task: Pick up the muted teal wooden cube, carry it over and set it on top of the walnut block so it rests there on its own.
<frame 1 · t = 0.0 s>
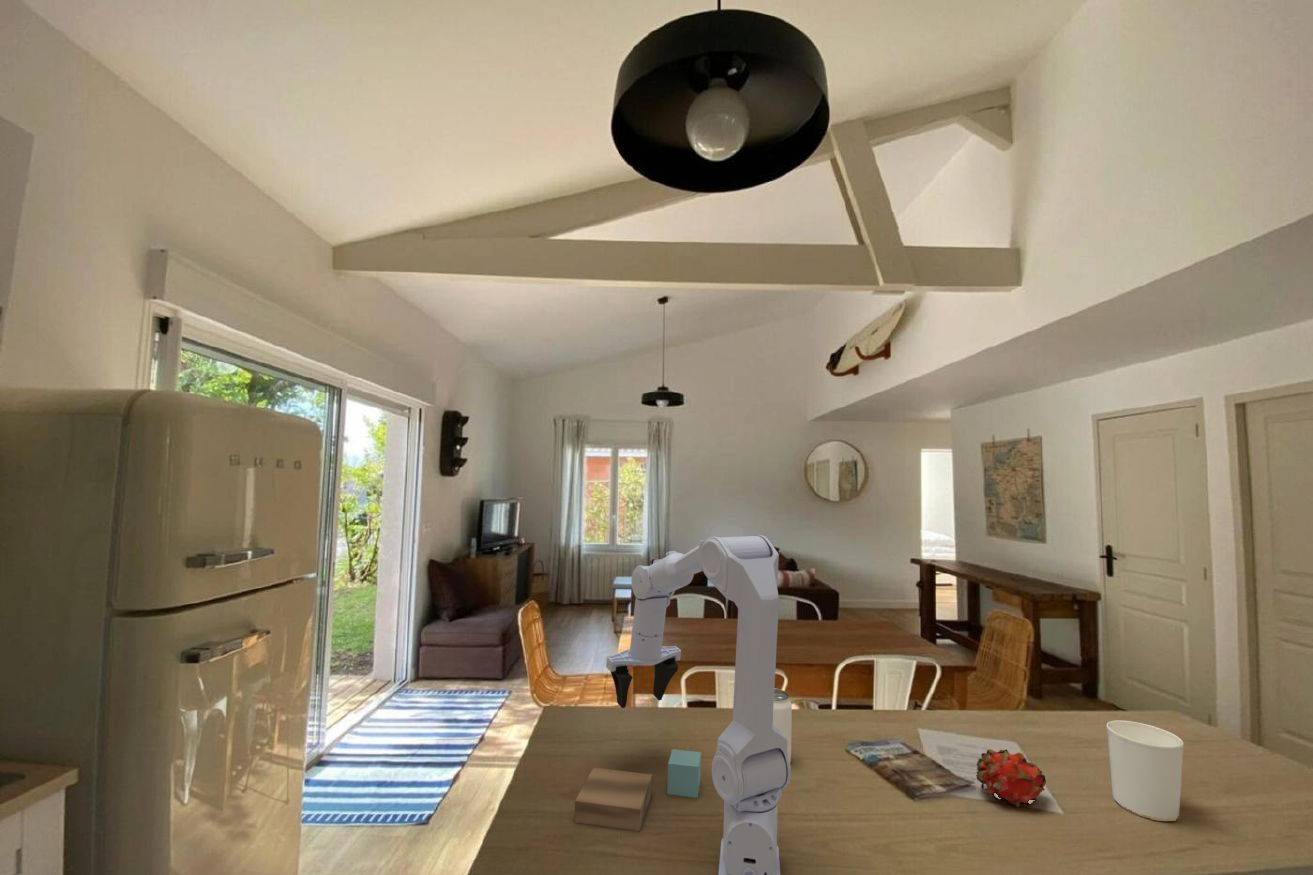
hand: (639, 701, 107), 11 cm above the kitchen island, tool pointing down, fingers open, 7 cm apart
candle holder: (1144, 808, 95), on the kitchen island
walnut block: (614, 810, 91), on the kitchen island
can: (772, 761, 108), on the kitchen island
teal cube: (684, 788, 97), on the kitchen island
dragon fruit: (1011, 799, 97), on the kitchen island
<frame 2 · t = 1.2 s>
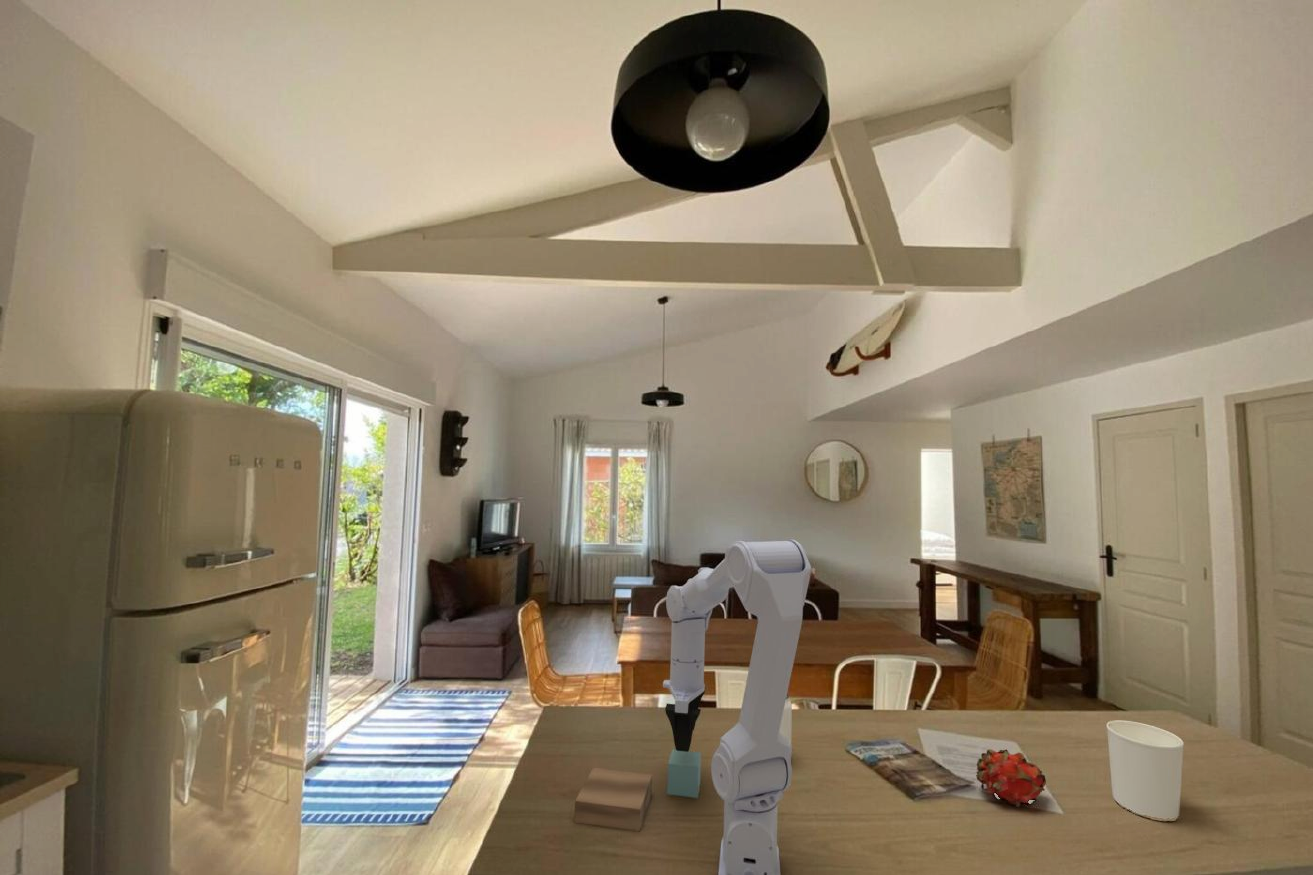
hand: (685, 739, 98), 8 cm above the kitchen island, tool pointing down, fingers open, 7 cm apart
nothing on the kitchen island moved.
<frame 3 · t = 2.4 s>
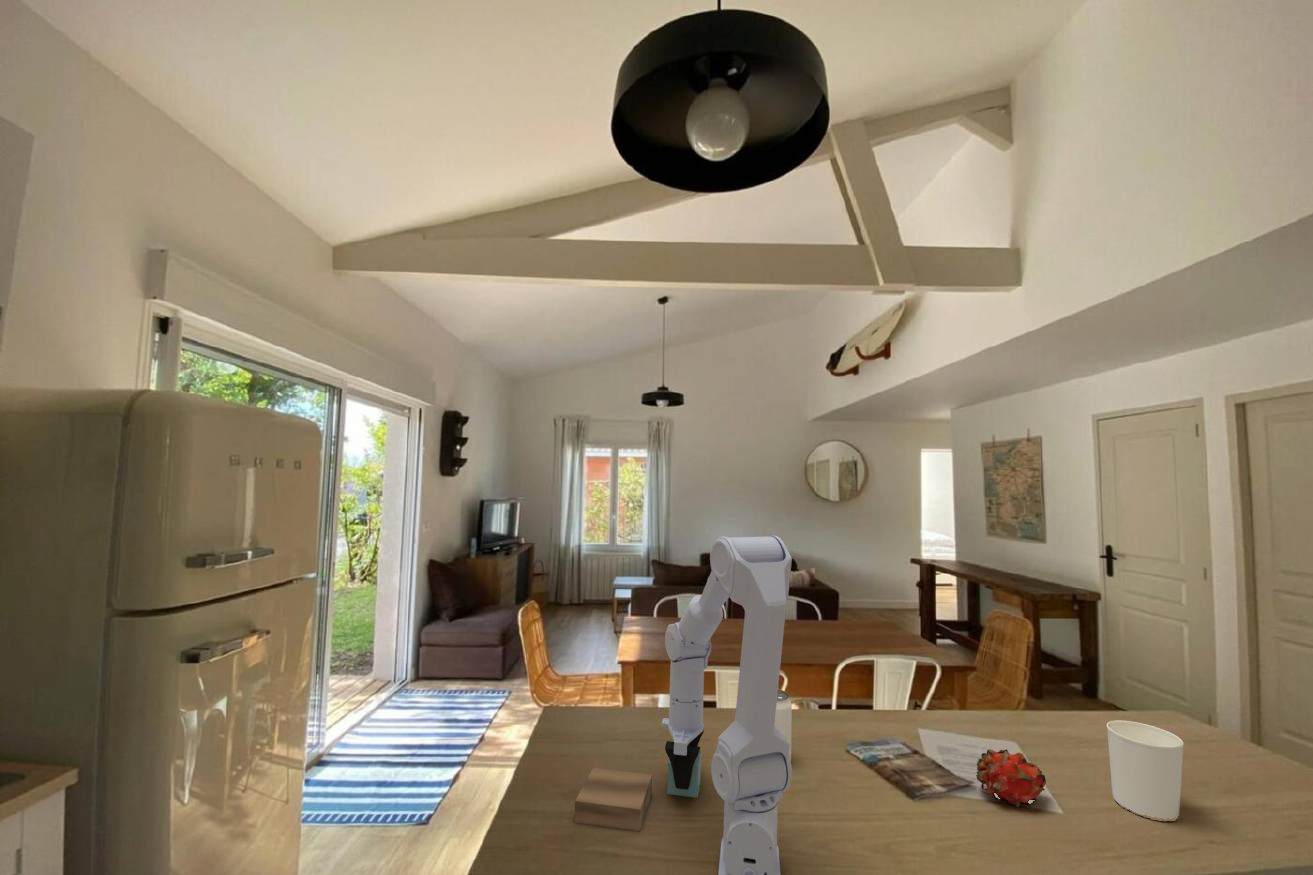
hand: (684, 778, 97), 1 cm above the kitchen island, tool pointing down, fingers closed on teal cube, 5 cm apart
teal cube: (684, 787, 97), on the kitchen island, touching gripper
everything else where it was.
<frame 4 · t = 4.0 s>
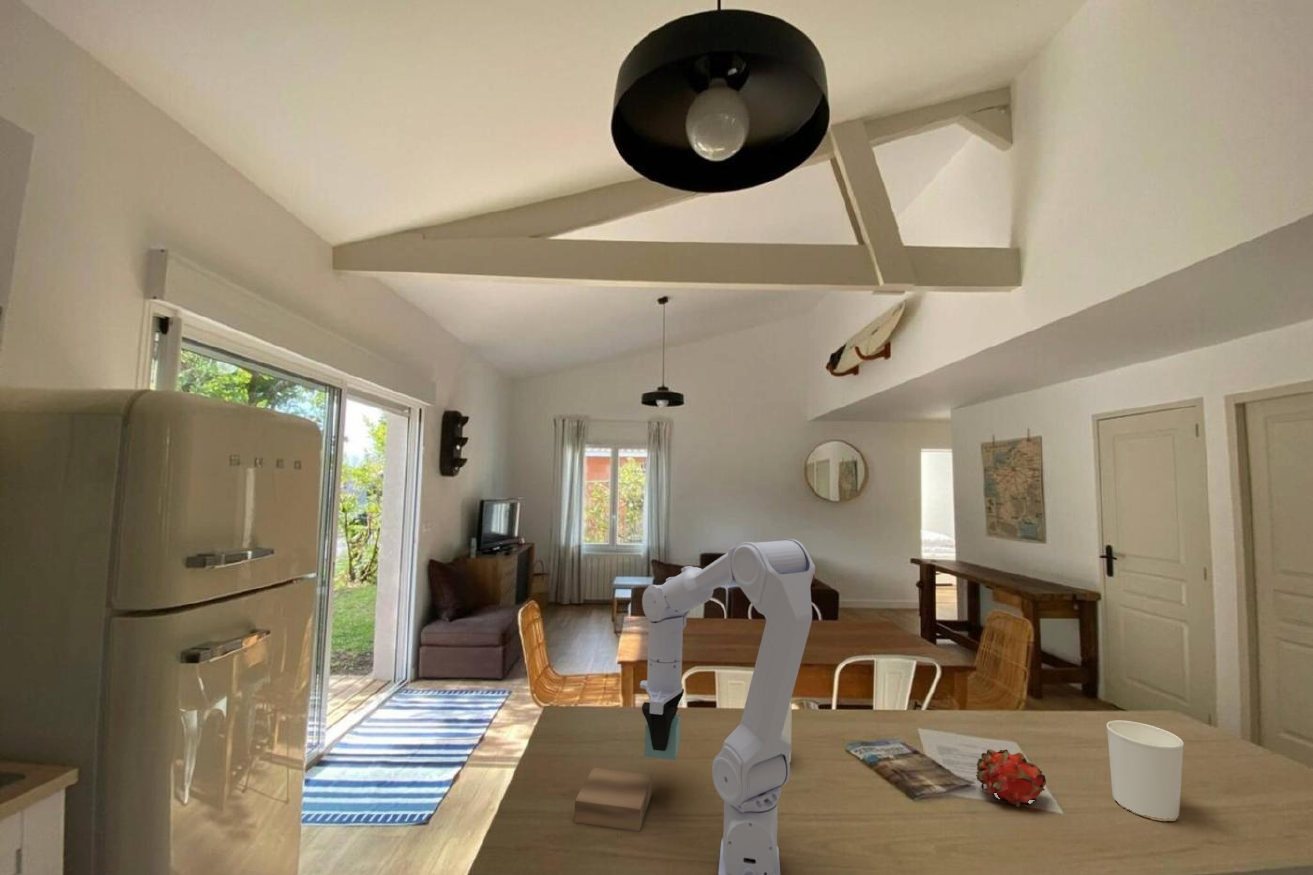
hand: (662, 741, 96), 8 cm above the kitchen island, tool pointing down, fingers closed on teal cube, 5 cm apart
teal cube: (662, 750, 96), point 7 cm above the kitchen island, touching gripper
everything else where it was.
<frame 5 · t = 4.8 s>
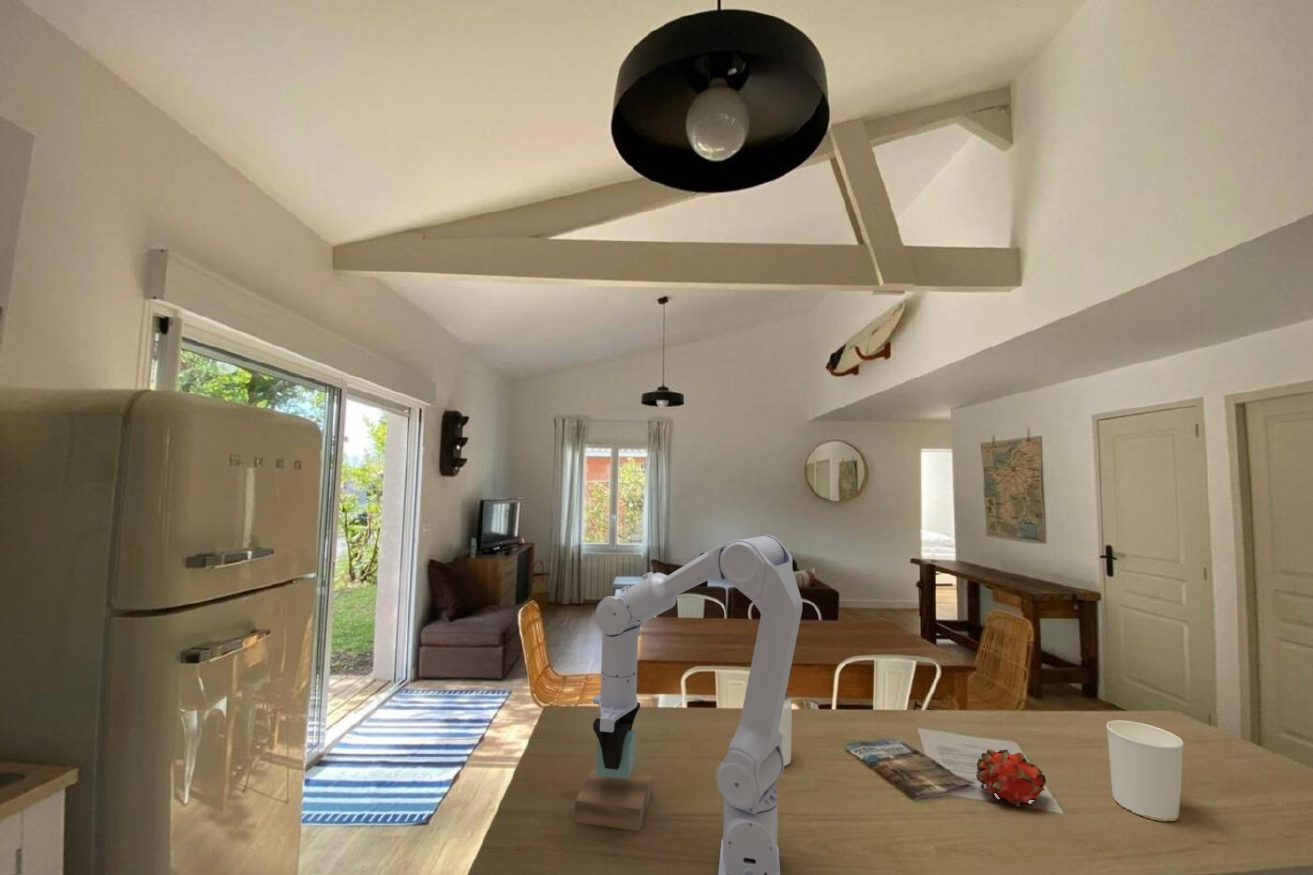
hand: (616, 758, 92), 7 cm above the kitchen island, tool pointing down, fingers closed on teal cube, 5 cm apart
teal cube: (615, 768, 92), point 6 cm above the kitchen island, touching gripper
everything else where it was.
when the fingers open (6 cm above the kitchen island, at t = 5.6 s): teal cube drops 1 cm, point 3 cm above the kitchen island.
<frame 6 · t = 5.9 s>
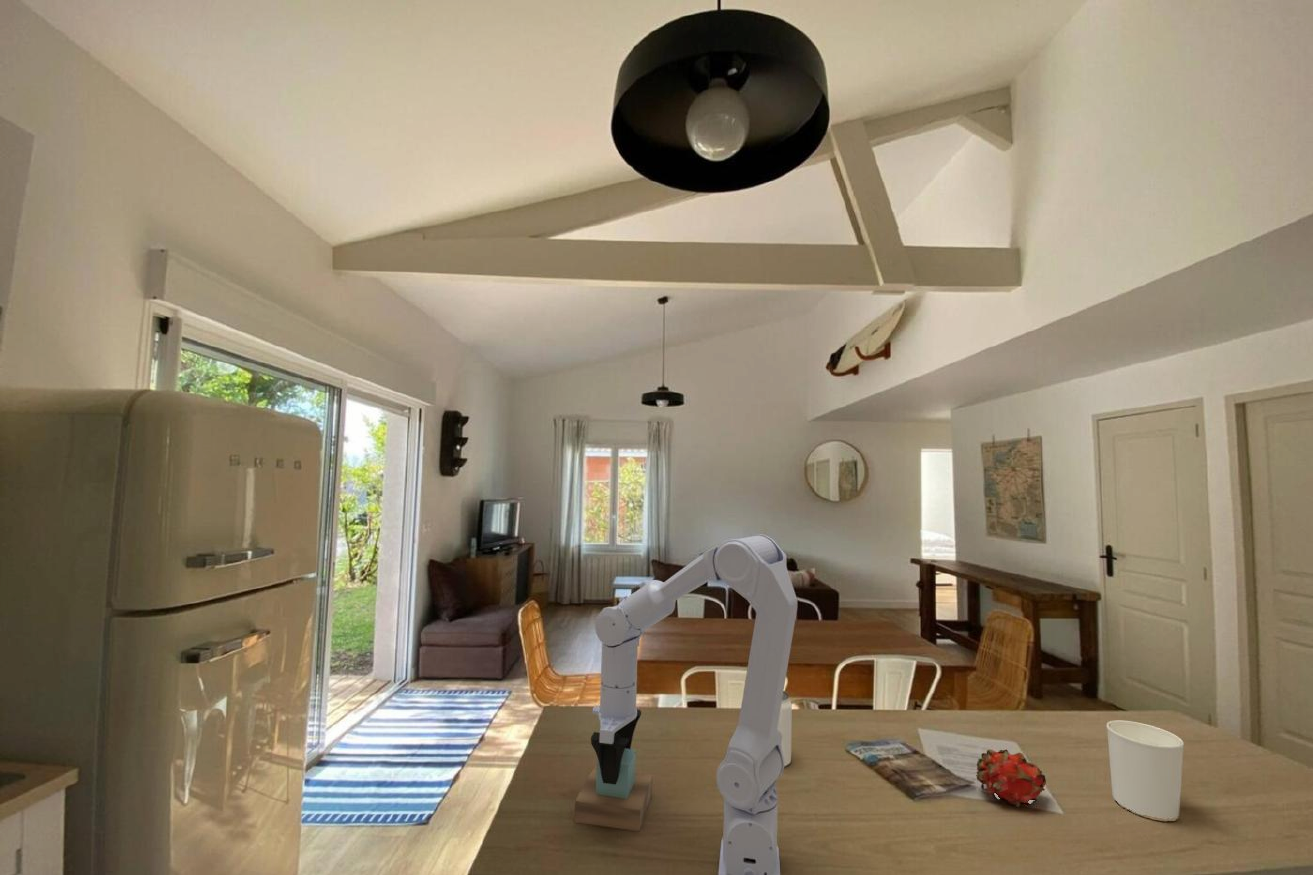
hand: (615, 769, 91), 6 cm above the kitchen island, tool pointing down, fingers open, 7 cm apart
teal cube: (615, 787, 91), point 3 cm above the kitchen island
everything else where it was.
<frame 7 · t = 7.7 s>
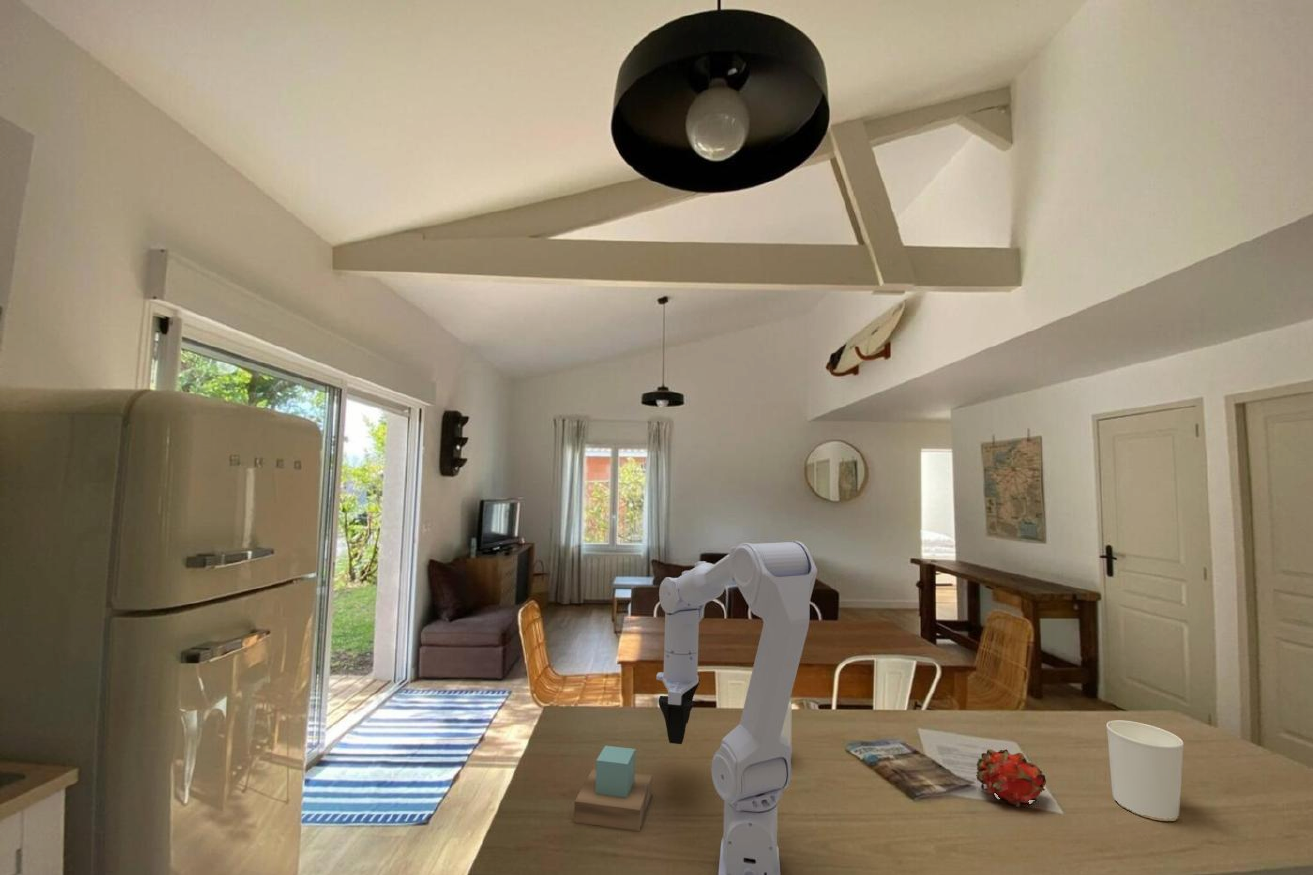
hand: (678, 732, 97), 9 cm above the kitchen island, tool pointing down, fingers open, 7 cm apart
walnut block: (614, 810, 91), on the kitchen island, touching teal cube
teal cube: (615, 787, 91), point 3 cm above the kitchen island, touching walnut block
everything else where it was.
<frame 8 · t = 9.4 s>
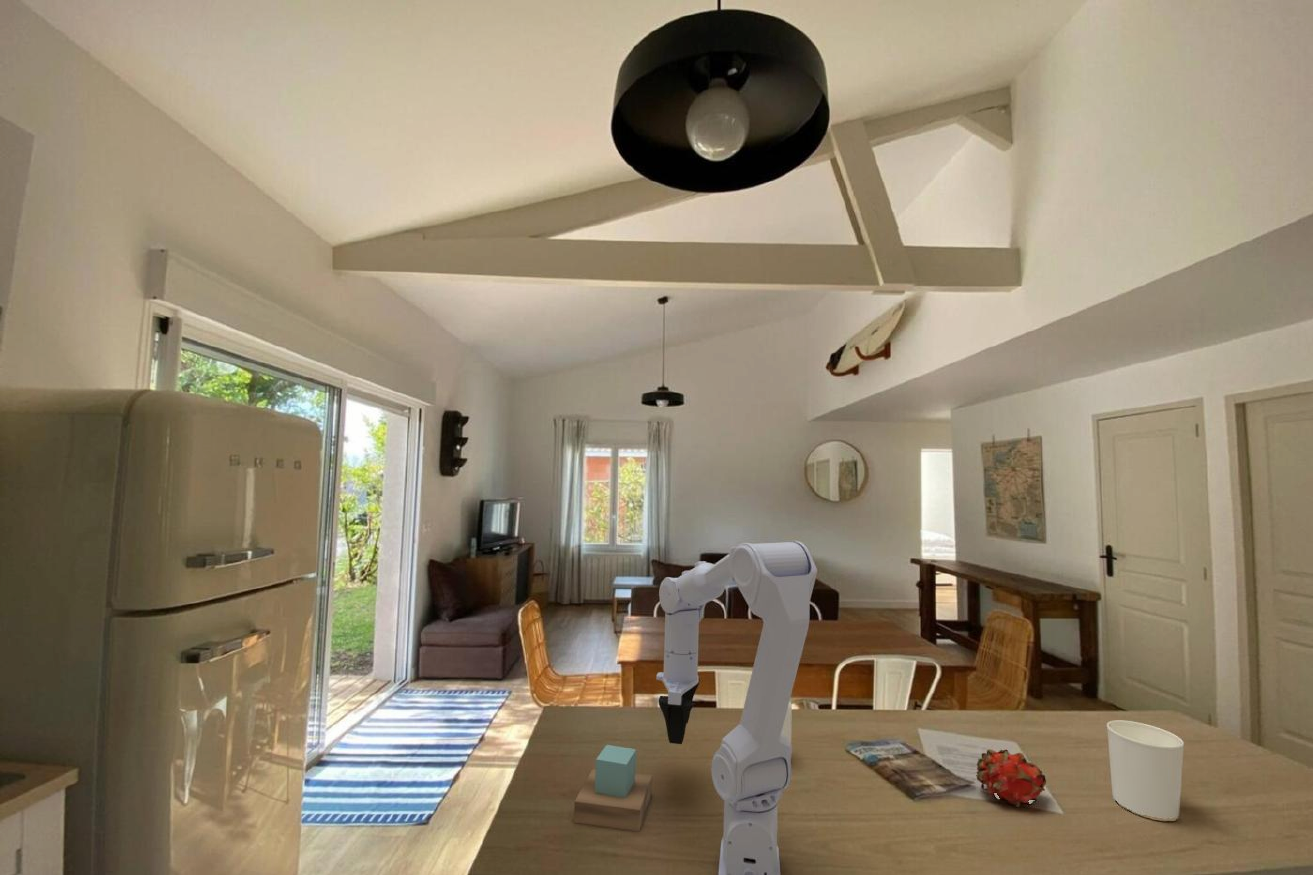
hand: (679, 732, 97), 9 cm above the kitchen island, tool pointing down, fingers open, 7 cm apart
walnut block: (614, 810, 91), on the kitchen island
teal cube: (615, 786, 92), point 3 cm above the kitchen island
everything else where it was.
at the end: teal cube 0.2 cm off-centre on the walnut block, point 3.5 cm above the walnut block's base; teal cube tilted 0°; the gripper is holding nothing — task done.
